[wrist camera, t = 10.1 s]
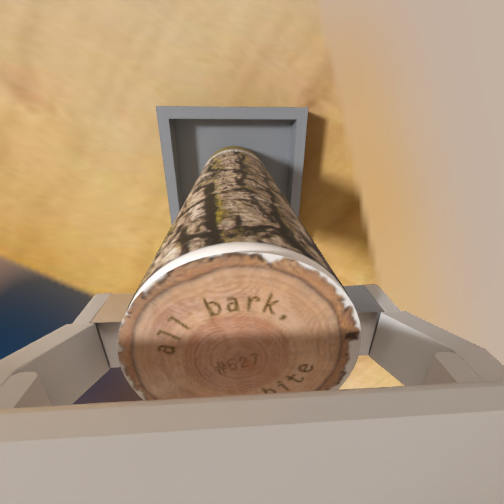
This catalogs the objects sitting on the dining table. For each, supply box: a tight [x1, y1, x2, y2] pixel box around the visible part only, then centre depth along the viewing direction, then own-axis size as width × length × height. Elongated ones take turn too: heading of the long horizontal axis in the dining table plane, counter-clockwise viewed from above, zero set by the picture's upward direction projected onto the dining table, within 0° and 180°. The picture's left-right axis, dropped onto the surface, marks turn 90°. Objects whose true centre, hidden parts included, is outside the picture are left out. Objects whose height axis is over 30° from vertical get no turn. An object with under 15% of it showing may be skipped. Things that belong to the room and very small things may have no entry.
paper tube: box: [117, 146, 361, 401], centre depth 19 cm, size 7×7×25 cm
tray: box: [156, 106, 308, 225], centre depth 29 cm, size 14×14×3 cm
